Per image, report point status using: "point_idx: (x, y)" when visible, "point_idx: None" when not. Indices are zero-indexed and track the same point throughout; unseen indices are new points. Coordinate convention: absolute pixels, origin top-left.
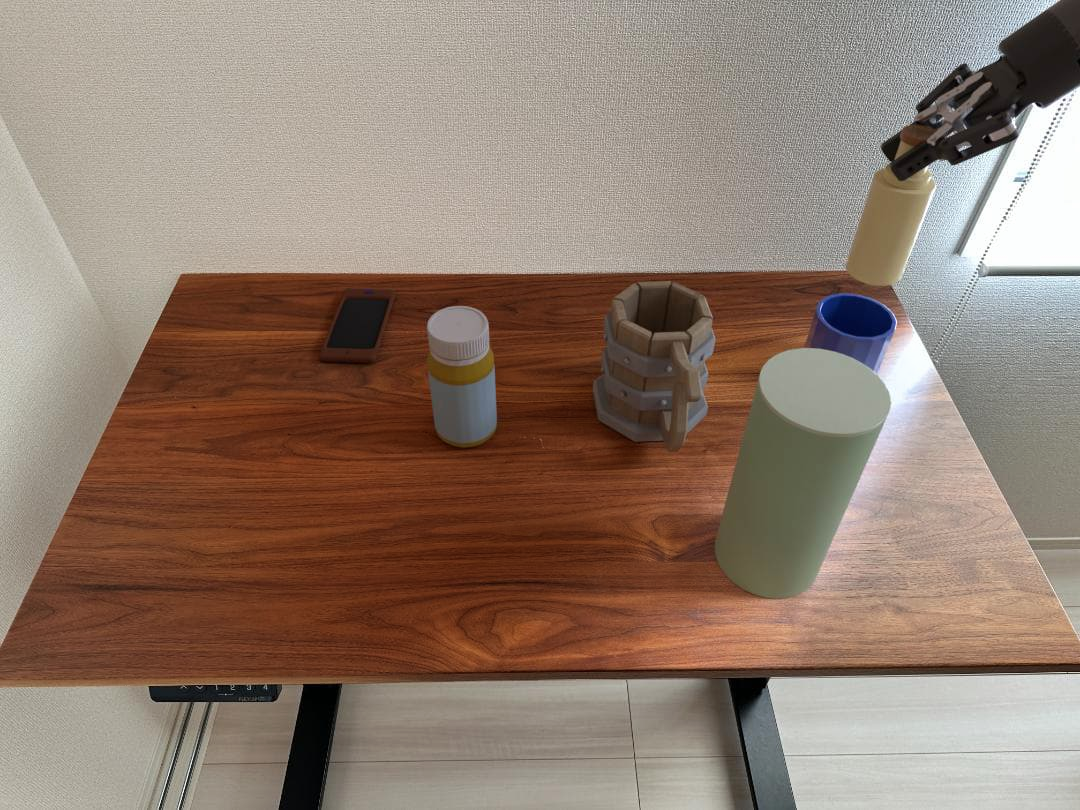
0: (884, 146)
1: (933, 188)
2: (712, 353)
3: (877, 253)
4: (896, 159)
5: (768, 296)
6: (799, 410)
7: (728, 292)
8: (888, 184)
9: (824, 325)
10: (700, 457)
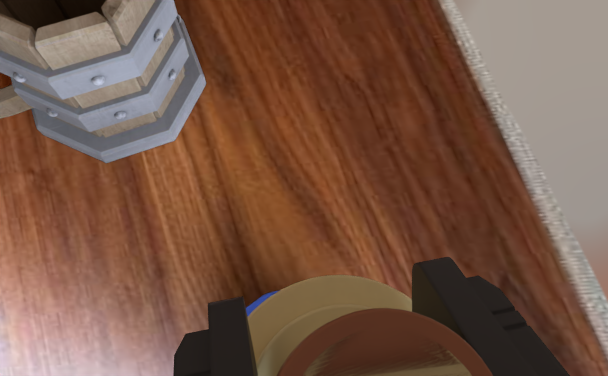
0: (417, 267)
1: None
2: (62, 99)
3: None
4: (237, 316)
5: (464, 230)
6: None
7: (449, 162)
8: (274, 330)
9: (247, 306)
10: (16, 167)
